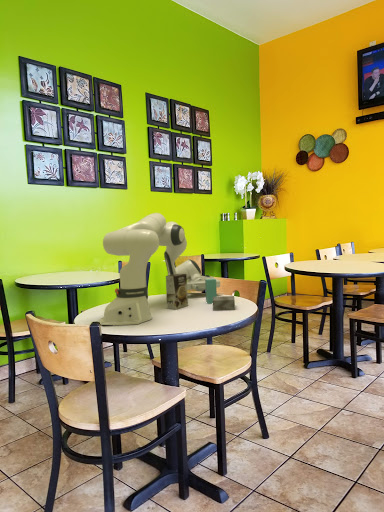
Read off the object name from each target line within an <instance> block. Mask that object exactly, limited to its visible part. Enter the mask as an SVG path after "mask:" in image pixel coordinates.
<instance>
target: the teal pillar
mask: <svg viewBox="0 0 384 512" xmlns="http://www.w3.org/2000/svg"><path fill="white" fill-rule="evenodd" d="M216 279H217V278H215V279H205V287H206V290H205V303H206V302H207V303H206V304H208V305H213V304H212V303H213V297H218V293H217V290H218V289H217V287H216Z"/></svg>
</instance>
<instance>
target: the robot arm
mask: <svg viewBox="0 0 384 512" xmlns="http://www.w3.org/2000/svg"><path fill="white" fill-rule="evenodd" d="M185 234H186V233H185V229H184V227H182V225H180V224H178V223H177V222H175V221H168V222H167V221H166V217H165V216H164V215H163V214H161V213H160V212H154V213H153V212H152V213H151V214H148V215H145V216H144V217H143V218H141V219H139V221H137V222H134V223H132V224H129V225H127V226H124V227H122V228H119V229H115V230H113V231H109V232H107V233H106V234H105V235H104V237H103V239H102V246H103V249H104V251H105V252H106V253H107V254H108V255H111V256H112V255H113V256H118V257H121V256H122V257H123V256H125V257H126V256H129V260H128V261H127V263H126V264H125V265H123V266H122V267H121V268H120V270H119V282H120V284H119V285H120V287H119V288H117V287H116V288H115V289H114V293H115V298H114V299H113V300H112V301H110V303H108V304H107V305H106V307H105V308H104V312H103V317H101V318H100V319H99V320H98V323H99V322H100V323H101V325H100V326H102V325H113V326H130V325H139V324H142V323H144V322H148V321H151V320H152V319H153V316H152V314H151V310H150V306H149V300H148V299H149V289H148V286H147V266H148V263H149V261H150V258H151V257H152V256H153V255H154V253H156V252H157V251H158V249H159V247H165V248H166V249H165V251H164V253H163V256H164V257H163V258H164V262H165V266H166V270H167V276H168V275H174V274H187V291H188V290H189V291H191V290H193V291H194V290H195V291H197V292H203V291H206V287H205V279H216V288H221V280H220V279H217V278H215V277H214V276H204V275H201V274H202V270H201V268H200V266H199V264H198V263H197V262H196V261H194V260H193V259H187V260H185V261H184V262H182V263H181V264H179V265H177V266H175V262H176V261H177V259H178V258H179V257H180V256H181V255H183V253H184V252H185V251H186V249H187V246H188V242H187V237H186V235H185Z"/></svg>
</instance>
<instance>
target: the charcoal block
mask: <svg viewBox="0 0 384 512" xmlns="http://www.w3.org/2000/svg"><path fill="white" fill-rule="evenodd" d="M235 303H236V300H235V296H234V295H229V296H227V295H226V296H223V295H221V296H217V297H213V304H212V312H215V311H217V312H220V311H221V312H223V311H236V306H235Z"/></svg>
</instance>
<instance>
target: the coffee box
mask: <svg viewBox="0 0 384 512" xmlns="http://www.w3.org/2000/svg"><path fill="white" fill-rule="evenodd" d="M187 282H188V281H187V274H174V275H168V274H167V275H165V288H166V290H165V291H166V308H167V309H170V310H180V309H182V308H186V307H188V306H189V299H188V298H189V297H188V290H187Z"/></svg>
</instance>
